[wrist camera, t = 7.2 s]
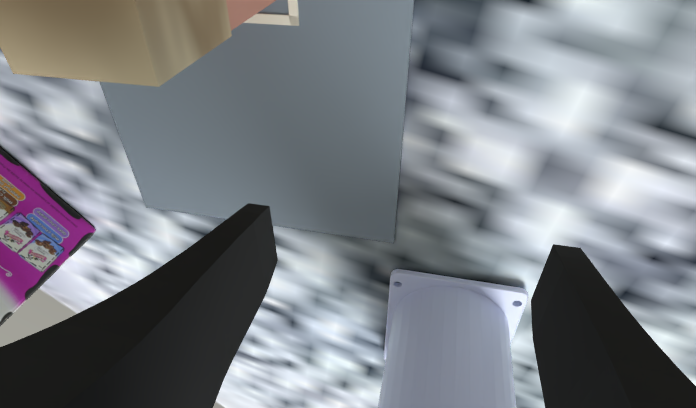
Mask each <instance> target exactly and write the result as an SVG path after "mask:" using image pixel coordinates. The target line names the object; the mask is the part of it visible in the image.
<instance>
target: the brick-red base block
mask: <svg viewBox="0 0 696 408" xmlns="http://www.w3.org/2000/svg"><path fill="white" fill-rule="evenodd" d="M275 1H276V0H226V3H227V9H228V16H229V22H230V28H231V31H232V30H233V29H234V28H236V27H237V26H239V25H240V24H242V23H243V22H245V21H246V20H248V19H249V18H251V17H252V16H254V15H255V14H257V13H258V12H260V11H261V10H263V9H264V8H266V7H267V6H269V5H270V4H272V3H273V2H275Z"/></svg>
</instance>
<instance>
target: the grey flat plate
mask: <svg viewBox="0 0 696 408" xmlns="http://www.w3.org/2000/svg"><path fill="white" fill-rule="evenodd" d="M413 9H414V0H276V1H275V2H273V3H272V4H270V5H269V6H267V7H266V8H264V9H263V10H261V11H260V12H258V13H257V14H255V15H254V16H252V17H251V18H249V19H248V20H246V21H245V22H243V23H242V24H240V25H239V26H237V27H236V28H234V29H233V30H232V31H231V34H232V36H231V37H230V38H228V39H227V40H225V41H224V42H223V43H221V44H220V45H218V46H217V47H215V48H214V49H212V50H211V51H210V52H208V53H207V54H205V55H204V56H202V57H201V58H200V59H198V60H197V61H195V62H194V63H192V64H191V65H190V66H188V67H187V68H185V69H184V70H182V71H181V72H179V73H178V74H177V75H175V76H174V77H172V78H171V79H169V80H168V81H167V82H165V83H164V84H162V85H161V86H159V87H155V86H144V85H133V84H122V83H111V82H100V84H101V87H102V90H103V92H104V95H105V98H106V100H107V103H108V106H109V108H110V111H111V114H112V117H113V119H114V122H115V125H116V127H117V130H118V133H119V135H120V138H121V141H122V144H123V146H124V149H125V152H126V154H127V157H128V160H129V162H130V165H131V168H132V171H133V173H134V176H135V179H136V181H137V184H138V187H139V189H140V192H141V195H142V198H143V200H144V203H145V206H146V207H147V208H154V209H161V210H168V211H175V212H182V213H189V214H196V215H202V216H209V217H216V218H223V219H228V218H229V217H230V216H232V215H233V214H234V213H236V212H237V211H238V210H240V209H241V208H242V207H244V206H245V205H247V204H248V203H251V204H258V205H266V206H270V213H271V219H272V226H279V227H286V228H293V229H300V230H307V231H313V232H320V233H327V234H334V235H341V236H348V237H355V238H362V239H369V240H376V241H383V242H390V243H394V235H395V223H396V212H397V200H398V188H399V176H400V164H401V152H402V140H403V128H404V116H405V104H406V92H407V80H408V68H409V56H410V44H411V32H412V21H413Z"/></svg>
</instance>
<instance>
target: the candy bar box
mask: <svg viewBox="0 0 696 408" xmlns="http://www.w3.org/2000/svg"><path fill="white" fill-rule="evenodd" d="M95 231H96V230H95V228H94V227H93V226H92V225H91V224H90V223H89V222H87V221H86V220H85V219H84V218H83V217H81V216H80V215H79V214H78V213H77V212H76V211H74V210H73V209H72V208H71V207H70V206H69V205H67V204H66V203H65V202H64V201H63V200H62V199H60V198H59V197H58V196H57V195H56V194H54V193H53V192H52V191H51V190H50V189H49V188H47V187H46V186H45V185H44V184H43V183H41V182H40V181H39V180H38V179H37V178H36V177H34V176H33V175H32V174H31V173H30V172H28V171H27V170H26V169H25V168H24V167H22V166H21V165H20V164H19V163H18V162H17V161H15V160H14V159H13V158H12V157H11V156H9V155H8V154H7V153H6V152H5V151H3V150H2V149H1V148H0V326H1V325H2V324H3V323H4V322H5V321H6V320H7V319H8V318H9V317H10V316H11V315H12V314H13V313H14V312H15V311H16V310H17V309H18V308H19V307H20V306H21V305H22V304H23V303H24V302H25V301H26V300H27V299H28V298H29V297H30V296H31V295H32V294H33V293H34V292H35V291H36V290H37V289H38V288H39V287H40V286H41V285H42V284H43V283H44V282H45V281H46V280H47V279H49V278H50V277H51V276H52V275H53V274H54V273H55V272H56V271H57V270H58V269H59V268H60V267H61V266H62V265H63V264H64V263H65V262H66V261H67V260H68V259H69V258H70V257H71V256H72V255H73V254H74V253H75V252H76V251H77V250H78V249H79V248H80V247H81V246H82V245H83V244H84V243H85V242H86V241H87V240H88V239H89V238H90V237H91V236H92V235H93V234H94V233H95Z"/></svg>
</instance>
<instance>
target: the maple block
mask: <svg viewBox="0 0 696 408" xmlns="http://www.w3.org/2000/svg"><path fill="white" fill-rule="evenodd" d="M231 36H232V34H231V28H230V22H229V16H228V9H227V3H226V0H0V47H1V49H2V52H3V54H4V56H5V58H6V60H7V62H8V64H9V66H10V68H11V70H12V72H13V74H23V75H34V76H45V77H56V78H67V79H78V80H89V81H100V82H111V83H122V84H133V85H144V86H155V87H159V86H161V85H162V84H164V83H165V82H167V81H168V80H169V79H171V78H172V77H174V76H175V75H177V74H178V73H179V72H181V71H182V70H184V69H185V68H187V67H188V66H190V65H191V64H192V63H194V62H195V61H197V60H198V59H200V58H201V57H202V56H204V55H205V54H207V53H208V52H210V51H211V50H212V49H214V48H215V47H217V46H218V45H220V44H221V43H223V42H224V41H225V40H227V39H228V38H230V37H231Z"/></svg>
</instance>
